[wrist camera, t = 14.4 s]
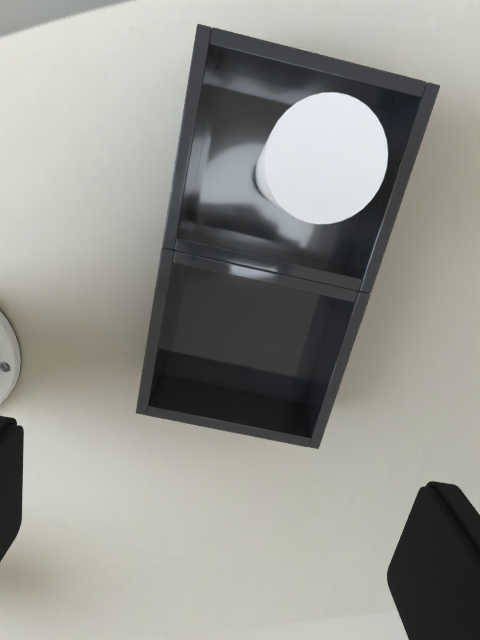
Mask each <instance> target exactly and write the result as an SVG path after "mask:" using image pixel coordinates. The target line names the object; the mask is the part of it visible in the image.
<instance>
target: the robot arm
mask: <svg viewBox="0 0 480 640" xmlns="http://www.w3.org/2000/svg"><path fill="white" fill-rule="evenodd" d="M20 364H21V359H20V349H19V345H18V342H17V339H16V336H15V333H14V331H13V329H12V327H11V326H10V324H9V322H8V320H7V319H6V318H5V316H4V315H3V314H2V312H1V311H0V404H1V403H2V402H3V401H4V400H5V399H6V398H7V397H8V396H9V395H10V393H11V391H12V390H13V388H14V387H15V385H16V382H17V379H18V377H19V373H20ZM23 438H24V431H23V427H22V426H18V425H17V422H16V419H14V418H10V417H4V416H0V562H1V560H2V558H3V557H4V555H5V554H6V552H7V551H8V549H9V547H10V546H11V544H12V543H13V541H14V539H15V538H16V536H17V534H18V531H19V529H20V526H21V520H22V484H23ZM387 581H388V586H389V589H390V592H391V594H392V597H393V599H394V602H395V605H396V607H397V610H398V612H399V615H400V618H401V620H402V623H403V625H404V628H405V631H406V633H407V636H408V638H409V640H480V515H479V514H478V512H477V511H476V510H475V508H474V507H473V505H472V504H471V503H470V501H469V500H468V499H467V497H466V496H465V495H464V493H463V492H462V491H461V489H460V488H459V487H458V486H456V485H454V484H447V483H440V482H434V481H432V482H429V483H428V484H427V485H426V487H425V486H424V487H421V488H420V490H419V491H418V494H417V497H416V499H415V502H414V504H413V507H412V509H411V512H410V514H409V517H408V519H407V522H406V524H405V527H404V530H403V532H402V535H401V537H400V540H399V542H398V545H397V547H396V550H395V552H394V555H393V557H392V560H391V563H390V565H389V568H388V571H387Z"/></svg>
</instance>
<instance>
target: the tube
mask: <svg viewBox="0 0 480 640" xmlns="http://www.w3.org/2000/svg"><path fill="white" fill-rule="evenodd" d="M387 160H388V148H387V140H386V136H385V133H384V130H383V127H382V125H381V123H380V122H379V120H378V118H377V116H376V115H375V114H374V113H373V112H372V111H371V109H370V108H369V107H368V106H367V105H365V104H364V103H362V102H361V101H360V100H358V99H356V98H354V97H351V96H349V95H346V94H341V93H336V92H330V93H319V94H315V95H311V96H309V97H307V98H305V99H303V100H301V101H298V102H297V103H296V104H294V105H293V106H292V107H291V108H289V109H288V110H287V111H286V112H285V113H284V114H283V115H282V117H281V118H280V119H279V120H278V121H277V123H276V125H275V127H274V128H273V130H272V132H271V134H270V136H269V138H268V140H267V142H266V144H265V146H264V148H263V150H262V152H261V154H260V156H259V158H258V160H257V163H256V167H255V181H256V185H257V187H258V190H259V191H260V192H261V194H262V195H263V196H264V197H265V198H266V199H267V200H269V201H270V202H272V203H273V204H275V205H276V206H278V207H280V208H281V209H283V210H284V211H286V212H287V213H289V214H291V215H292V216H294V217H295V218H297V219H300V220H302V221H305V222H308V223H313V224H331V223H336V222H340V221H343V220H345V219H347V218H349V217H352V216H353V215H355V214H356V213H358V212H359V211H360V210H362V209H363V208H364V207H365V206H366V205H367V204H368V203H369V202H370V201H371V200H372V198H373V197H374V196H375V194H376V193H377V191H378V190H379V188H380V185H381V183H382V181H383V179H384V176H385V172H386V168H387Z"/></svg>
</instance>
